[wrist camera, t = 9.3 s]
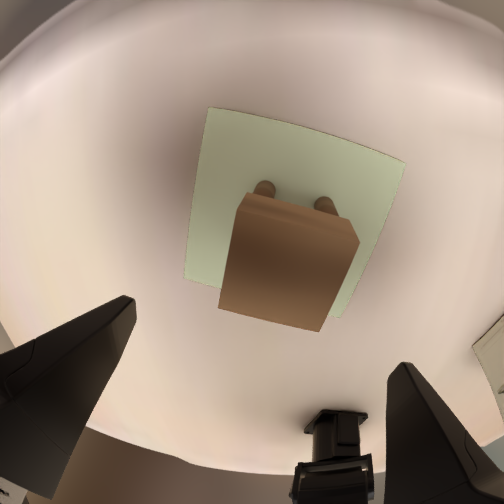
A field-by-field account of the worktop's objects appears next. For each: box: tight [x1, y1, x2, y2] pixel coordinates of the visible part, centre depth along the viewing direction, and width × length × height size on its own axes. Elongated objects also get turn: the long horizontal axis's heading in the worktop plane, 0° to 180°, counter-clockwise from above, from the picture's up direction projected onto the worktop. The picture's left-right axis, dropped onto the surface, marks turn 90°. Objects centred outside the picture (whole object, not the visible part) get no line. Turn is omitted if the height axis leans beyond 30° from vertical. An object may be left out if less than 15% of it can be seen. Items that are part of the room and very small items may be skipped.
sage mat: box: [184, 107, 406, 318], centre depth 17 cm, size 12×12×1 cm
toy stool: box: [218, 180, 360, 332], centre depth 14 cm, size 5×5×6 cm
